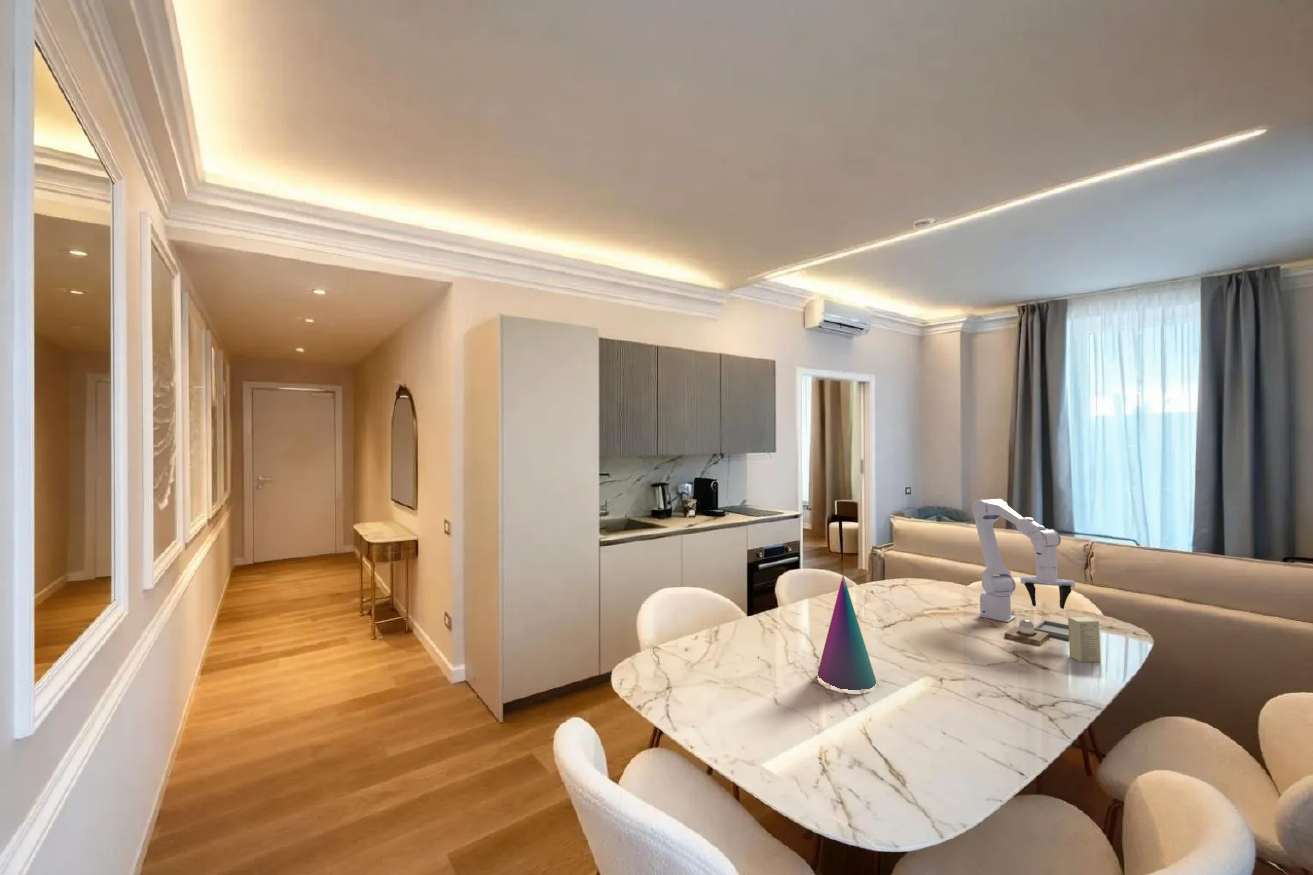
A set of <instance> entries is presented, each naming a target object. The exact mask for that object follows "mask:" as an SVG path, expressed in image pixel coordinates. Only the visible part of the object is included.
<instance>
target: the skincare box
mask: <svg viewBox="0 0 1313 875" xmlns="http://www.w3.org/2000/svg"><path fill="white" fill-rule="evenodd" d="M1067 622H1068V623H1067V625H1068V628H1069V640H1068V644H1069V645H1068V646H1069V647H1068V648H1069V657H1070V658H1072V659H1074V660H1076V661H1077V662H1079V663H1080V662H1082V663H1084V662H1085V663H1089V662H1090V663H1092V662H1093V663H1094V662H1095V663H1097V662H1101V642H1100V640H1101V639H1100V622H1099V620H1096V619H1095V618H1092V617H1090V616H1068V617H1067Z"/></svg>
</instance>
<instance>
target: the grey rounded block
mask: <svg viewBox="0 0 1313 875" xmlns="http://www.w3.org/2000/svg"><path fill="white" fill-rule="evenodd" d="M1018 627H1019V633H1020V634H1022V635H1026V636H1031V637H1034V627H1035V626H1034V624H1033V622H1032V621H1031V620H1029V619H1022V620H1020V621H1019V623H1018Z"/></svg>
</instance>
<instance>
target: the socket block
mask: <svg viewBox="0 0 1313 875" xmlns="http://www.w3.org/2000/svg"><path fill="white" fill-rule="evenodd" d="M1003 634H1004V638H1005V637H1006V638H1005V639H1009V638H1010V639H1009V640H1014V641H1018V642H1023V643H1026V642H1027V644H1031V645H1035V646H1036V645H1037V646H1042V645H1043V644H1045V642H1047V641H1048V640H1049V639H1050V636H1049V633H1045V632H1040V631H1036V630H1034V637H1031V636H1026V635H1022V634H1020V633H1019V626H1016V625H1014V626H1012V627H1011V628H1009V629H1008V630H1007V631H1005V632H1004V633H1003Z"/></svg>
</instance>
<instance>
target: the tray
mask: <svg viewBox="0 0 1313 875" xmlns="http://www.w3.org/2000/svg"><path fill="white" fill-rule="evenodd" d="M1034 630H1036V631H1040V632H1045V633H1049V637H1051V638H1057V639H1060V640H1066V641H1069V628H1068V623H1067V624H1066V623H1061V622H1057V621H1051V620H1045V619H1044V620H1042V621H1041V622H1039V623H1038V624H1037V625H1035V626H1034Z"/></svg>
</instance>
